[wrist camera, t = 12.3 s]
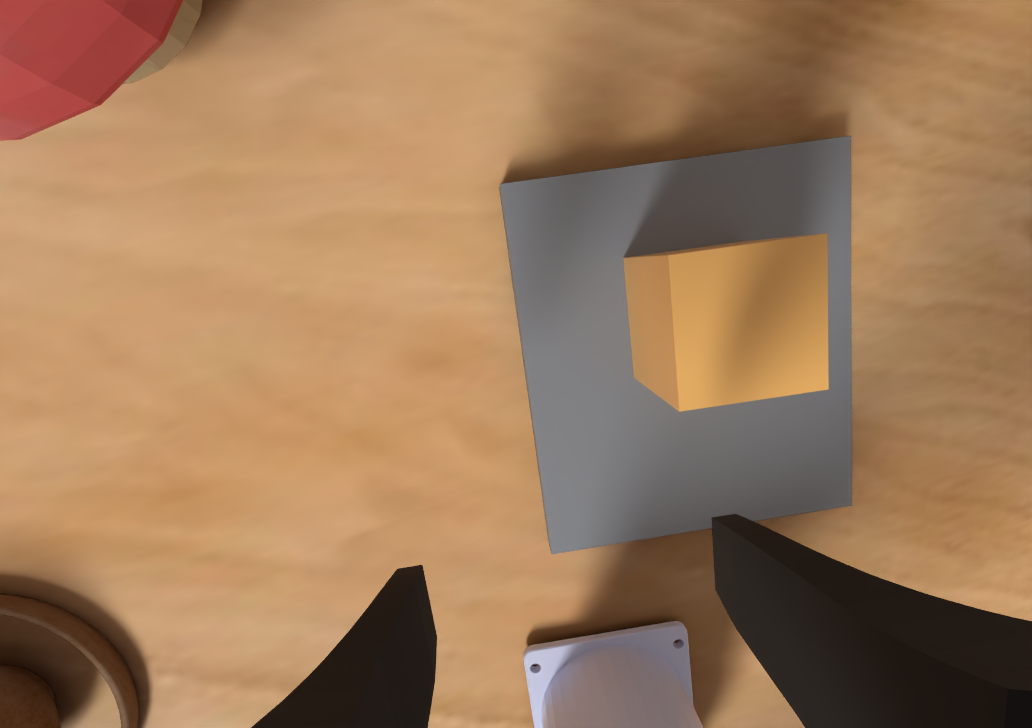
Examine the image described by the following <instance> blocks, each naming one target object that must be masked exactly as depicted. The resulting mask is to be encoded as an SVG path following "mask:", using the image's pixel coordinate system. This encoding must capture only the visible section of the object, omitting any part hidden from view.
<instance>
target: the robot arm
mask: <svg viewBox="0 0 1032 728" xmlns="http://www.w3.org/2000/svg"><path fill="white" fill-rule="evenodd" d="M711 519H712V536H713V553H714V570H715V588H716V591H717V593H718V595H719V597H720V599H721V601H722V603H723V605H724V607H725V609H726V611H727V613H728V614H729V616H730V618H731V620H732V622H733V623H734V625H735V627H736V629H737V630H738V632H739V633H740V635H741V636H742V638H743V639H744V641H745V642H746V643H747V645H748V646H749V648H750V649H751V651H752V652H753V653H754V655H755V656H756V658H757V659H758V661H759V662H760V663H761V665H762V666H763V668H764V669H765V671H766V672H767V673H768V675H769V676H770V678H771V679H772V680H773V682H774V683H775V685H776V686H777V688H778V689H779V690H780V692H781V693H782V695H783V696H784V697H785V699H786V700H787V702H788V703H789V705H790V706H791V707H792V709H793V710H794V712H795V713H796V714H797V716H798V717H799V719H800V720H801V722H802V723H803V725H804V726H805V728H1032V621H1027V620H1023V619H1018V618H1013V617H1009V616H1005V615H1001V614H997V613H993V612H989V611H985V610H981V609H977V608H973V607H970V606H966V605H963V604H959V603H955V602H952V601H948V600H945V599H941V598H938V597H935V596H931V595H928V594H925V593H922V592H919V591H916V590H913V589H910V588H907V587H904V586H901V585H898V584H895V583H893V582H890V581H887V580H884V579H881V578H879V577H876V576H873V575H871V574H868V573H865V572H863V571H861V570H858V569H856V568H853V567H851V566H849V565H846V564H844V563H841V562H839V561H837V560H834V559H832V558H830V557H827V556H825V555H823V554H821V553H819V552H816V551H814V550H812V549H810V548H808V547H806V546H803V545H801V544H799V543H797V542H795V541H793V540H791V539H789V538H787V537H785V536H783V535H781V534H779V533H776V532H774V531H772V530H770V529H768V528H766V527H764V526H762V525H760V524H758V523H756V522H754V521H751V520H749V519H747V518H745V517H743V516H740V515H738V514H730V515H724V516H718V517H712V518H711ZM678 639H680V640H679V642H676V643H674V641H675V640H678ZM436 647H437V635H436V630H435V625H434V620H433V615H432V610H431V605H430V600H429V595H428V591H427V586H426V581H425V576H424V571H423V566H422V565H418V566H412V567H406V568H400V569H397V570H396V571H395V573H394V574H393V575H392V576H391V578H390V579H389V580H388V582H387V583H386V584H385V586H384V587H383V588H382V590H381V591H380V592H379V593H378V595H377V596H376V597H375V599H374V600H373V601H372V603H371V604H370V605H369V607H368V608H367V609H366V611H365V612H364V613H363V614H362V616H361V617H360V618H359V619H358V621H357V622H356V623H355V624H354V626H353V627H352V628H351V629H350V631H349V632H348V633H347V634H346V635H345V636H344V637H343V639H342V640H341V641H340V642H339V643H338V644H337V646H336V647H335V648H334V649H333V650H332V651H331V652H330V654H329V655H328V656H327V657H326V658H325V659H324V660H323V661H322V662H321V663H320V665H319V666H318V667H317V668H316V669H315V670H314V671H313V672H312V673H311V674H310V675H309V676H308V677H307V678H306V679H305V680H304V681H303V682H302V683H301V684H300V685H299V686H298V687H297V688H296V689H294V690H293V691H292V692H291V693H290V694H289V695H288V696H287V697H286V698H285V699H284V700H283V701H282V702H281V703H279V704H278V705H277V706H276V707H275V708H274V709H272V710H271V711H270V712H269V713H268V714H267V715H265V716H264V717H263V718H262V719H261V720H260V721H258V722H257V723H256V724H255V725H254V726H252V727H251V728H428V722H429V715H430V709H431V703H432V696H433V690H434V683H435V670H436ZM523 658H524V665H525V672H526V678H527V684H528V690H529V697H530V703H531V709H532V716H533V722H534V728H703V726H702V724H701V721H700V719H699V717H698V715H697V713H696V711H695V709H694V706H693V694H692V682H691V669H690V657H689V644H688V632H687V629H686V628H685V626H684V624H683V623H682V622H679V621H672V622H666V623H660V624H654V625H648V626H642V627H636V628H630V629H624V630H618V631H612V632H606V633H600V634H595V635H589V636H583V637H577V638H571V639H565V640H559V641H553V642H547V643H541V644H535V645H531V646H528V647H527V648H526V649H525V650H524V652H523ZM533 664H539V665H538V666H536V667H534V666H531V665H533Z"/></svg>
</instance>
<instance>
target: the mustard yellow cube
mask: <svg viewBox="0 0 1032 728" xmlns="http://www.w3.org/2000/svg"><path fill="white" fill-rule="evenodd" d="M623 260H624V271H625V283H626V294H627V305H628V316H629V328H630V339H631V350H632V361H633V373H634V378H635V379H636V380H638V381H639V382H640V383H642V384H643V385H644V386H646V387H647V388H648V389H650V390H651V391H652V392H654V393H655V394H656V395H658V396H659V397H660V398H662V399H663V400H664V401H666V402H667V403H668V404H670V405H671V406H672V407H674V408H675V409H676V410H678V411H679V412H681V411H688V410H694V409H701V408H708V407H714V406H721V405H728V404H734V403H741V402H748V401H755V400H761V399H768V398H775V397H781V396H788V395H795V394H801V393H808V392H815V391H821V390H828V389H829V381H828V252H827V233H825V234H814V235H804V236H793V237H783V238H772V239H762V240H752V241H742V242H735V243H728V244H720V245H713V246H706V247H699V248H691V249H684V250H677V251H670V252H662V253H655V254H648V255H641V256H634V257H626V258H623Z"/></svg>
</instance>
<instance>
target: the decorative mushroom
mask: <svg viewBox="0 0 1032 728" xmlns="http://www.w3.org/2000/svg"><path fill="white" fill-rule="evenodd" d="M202 2H203V0H0V141H2V140H18V139H23V138H25V137H28V136H30V135H32V134H35V133H37V132H39V131H41V130H44V129H46V128H48V127H51V126H53V125H55V124H58V123H60V122H62V121H65V120H67V119H69V118H72V117H74V116H76V115H79V114H81V113H83V112H85V111H88V110H90V109H92V108H95V107H97V106H99V105H101V104H102V103H103V102H104V101H105V100H106V99H107V98H108V97H109V96H110V95H111V94H112V93H114V92H115V91H116V90H117V89H118V88H119V87H120V86H121V85H122V84H126V83H134V82H136V81H138V80H140V79H142V78H144V77H147V76H149V75H151V74H153V73H155V72H157V71H159V70H162V69H163V68H164V67H165V66H166V65H167V64H168V63H169V62H170V61H171V60H172V59H173V58H174V57H175V56H176V55H177V54H178V53H179V52H180V51H181V50H182V49H183V48H184V47H185V46H186V44H187V42H188V40H189V38H190V36H191V34H192V32H193V30H194V28H195V25H196V23H197V21H198V19H199V17H200V15H201V9H202Z"/></svg>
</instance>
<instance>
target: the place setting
mask: <svg viewBox="0 0 1032 728" xmlns="http://www.w3.org/2000/svg"><path fill="white" fill-rule="evenodd" d="M0 614H2V615H7V616H12V617H15V618H19V619H22V620H25V621H28V622H31V623H33V624H36V625H38V626H40V627H43V628H45V629H47V630H49V631H51V632H53V633H54V634H56V635H58V636H60V637H62V638H63V639H65V640H66V641H67V642H69V643H70V644H72V645H73V646H75V647H76V648H77V649H78V650H79V651H80V652H82V653H83V654H84V655H85V656H86V657H87V658H88V659H89V660H90V661H91V662H92V663H93V664H94V665H95V667H96V668H97V669H98V670H99V671H100V672H101V674H102V675H103V677H104V678H105V680H106V681H107V683H108V684H109V686H110V688H111V691H112V693H113V695H114V697H115V699H116V702H117V706H118V709H119V712H120V719H121V728H137V725H138V700H137V693H136V689H135V686H134V682H133V679H132V677H131V674H130V672H129V670H128V668H127V666H126V664H125V663H124V661H123V660H122V658H121V657H120V655H119V653H118V652H117V651H116V650H115V649H114V647H113V646H112V645H111V644H110V643H109V642H108V640H106V639H105V638H104V637H103V636H102V635H101V634H100V633H99V632H98V631H97V630H95V629H94V628H93V627H91V626H90V625H88V624H87V623H86V622H84V621H83V620H81V619H80V618H78V617H76V616H74V615H72V614H71V613H69V612H67V611H65V610H62V609H60V608H58V607H55V606H53V605H51V604H47V603H44V602H41V601H38V600H35V599H30V598H25V597H20V596H13V595H2V594H0ZM0 728H60V720H59V715H58V712H57V709H56V702H55V697H54V695H53V692H52V690H51V689H50V687H49V686H48V685H47V683H46V682H45V681H44V680H43V679H41V678H40V677H39V676H37V675H36V674H34V673H32V672H31V671H28V670H26V669H23V668H20V667H15V666H0Z"/></svg>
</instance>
